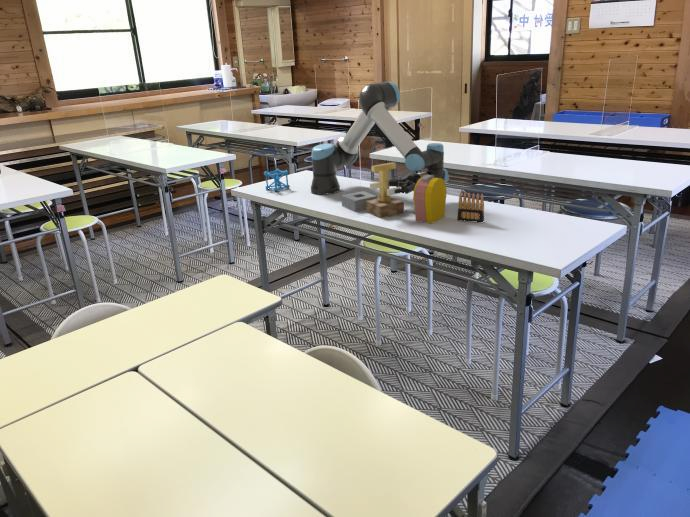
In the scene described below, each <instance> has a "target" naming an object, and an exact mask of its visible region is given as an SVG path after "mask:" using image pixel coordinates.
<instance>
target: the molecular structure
mask: <svg viewBox="0 0 690 517" xmlns="http://www.w3.org/2000/svg"><path fill="white" fill-rule="evenodd" d="M288 174H289V171H288V170H287V169H286V170H284V171H283V170H280V168H276V169H275V170H273V171H272V170H271V171H264V172H263V175H264V176H265V182H266V186H265V190H267V189H268V188H269V190H272V189H273V191H274V192H275V191H277V192H279V191H280V190H283V189H286V188H289V187H291V186H290V184H289V179H288ZM280 175H281V176H280ZM284 176H285V180H286V181H285V182H286V184H285V183H284V182H282V181H281V180H280V179H282V178H283V177H284ZM268 177H270V178H271V179H273V182H272V183H270V184H269V182H268ZM278 186H280V187H278ZM270 187H271V188H270ZM289 189H290V188H289Z"/></svg>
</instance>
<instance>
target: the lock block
mask: <svg viewBox="0 0 690 517" xmlns="http://www.w3.org/2000/svg"><path fill="white" fill-rule="evenodd" d="M404 205H405V201H402V200H399V199H396V198H394V197H391V196H390V202H387V203H381V202H380V198H378V197H377V199H374V200H369V201H366V209H365V210H366V211H365V212H366V213H368V214H370V215H373V216H375V217H378V218H380V219H383V218H387V217H393V216H396V215H397V216H398V215H401V214H405V206H404ZM392 215H393V216H392Z"/></svg>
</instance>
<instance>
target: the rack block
mask: <svg viewBox="0 0 690 517" xmlns="http://www.w3.org/2000/svg"><path fill="white" fill-rule="evenodd" d="M374 199H378V196H377V195H375V194H374V193H373V194H372V193H370V192H367V191H364V190H362V191H356V192H351V193H347V194H342V195H341V206H342V207H344V206H345V207H344V208H346V207H347V208H346V209H348V208H349V209H348V210H350V211H353V210H354V211H353V212H358V211H359V210H360V211H363V210H366V201H369V200H374ZM360 211H359V212H360Z"/></svg>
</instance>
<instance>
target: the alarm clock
mask: <svg viewBox="0 0 690 517" xmlns="http://www.w3.org/2000/svg"><path fill="white" fill-rule="evenodd" d="M446 184H447V183H446ZM446 184H445V181H444V180H443V179H442V178H434V176H433V175H424V176H423V177H421V178H420V179H419V180H418V181H417V183H416V185H415V189H414V191H413V195H412V196H413V197H412V198H413V199H412V200H413V207H414V214H415V216H414V217H415V222H418V221H422V222H421V223H425V222H428V223H427V224H434V223H436V222H438V221H439V220H440V219H442V218H443V216H444V217H445V212H446V202H447V185H446ZM438 219H439V220H438ZM435 221H436V222H435ZM433 222H434V223H433Z"/></svg>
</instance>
